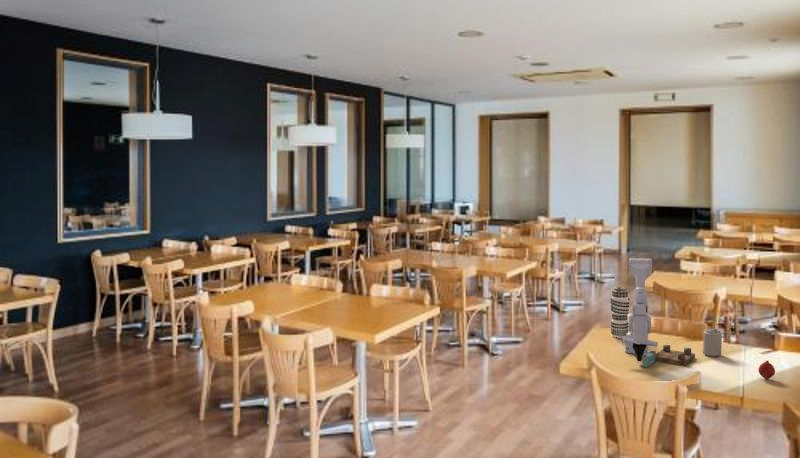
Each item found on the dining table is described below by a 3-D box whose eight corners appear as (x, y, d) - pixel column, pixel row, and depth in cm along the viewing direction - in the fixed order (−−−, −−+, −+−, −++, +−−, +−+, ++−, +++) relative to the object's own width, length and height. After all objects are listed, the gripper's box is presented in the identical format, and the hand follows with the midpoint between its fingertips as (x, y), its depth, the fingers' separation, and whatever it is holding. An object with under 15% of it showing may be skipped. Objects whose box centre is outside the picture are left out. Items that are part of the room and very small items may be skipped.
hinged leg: (650, 360, 296) (651, 350, 295) (656, 361, 294) (656, 351, 294) (642, 366, 287) (642, 356, 287) (647, 367, 286) (648, 357, 285)
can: (723, 357, 297) (723, 331, 296) (705, 357, 299) (705, 331, 297) (718, 352, 304) (719, 327, 303) (701, 352, 306) (701, 326, 305)
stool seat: (652, 360, 296) (652, 350, 295) (662, 353, 306) (663, 343, 306) (685, 366, 287) (685, 355, 286) (694, 358, 298) (695, 348, 297)
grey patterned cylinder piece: (613, 332, 344) (613, 284, 341) (631, 334, 338) (632, 286, 336) (607, 336, 336) (607, 288, 334) (626, 339, 331) (626, 289, 328)
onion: (755, 377, 270) (755, 358, 269) (768, 376, 271) (769, 357, 270) (764, 382, 264) (764, 362, 263) (777, 381, 265) (778, 362, 264)
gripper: (620, 330, 290) (620, 360, 291) (655, 334, 282) (654, 365, 283) (624, 326, 296) (624, 356, 297) (658, 330, 288) (658, 361, 289)
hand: (639, 360), depth 291 cm, fingers closed
